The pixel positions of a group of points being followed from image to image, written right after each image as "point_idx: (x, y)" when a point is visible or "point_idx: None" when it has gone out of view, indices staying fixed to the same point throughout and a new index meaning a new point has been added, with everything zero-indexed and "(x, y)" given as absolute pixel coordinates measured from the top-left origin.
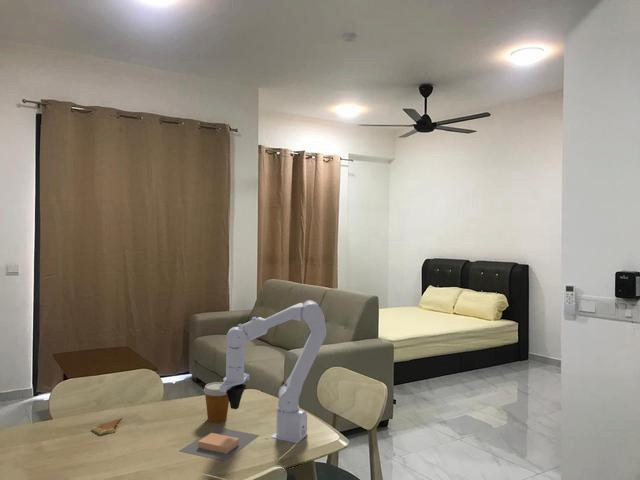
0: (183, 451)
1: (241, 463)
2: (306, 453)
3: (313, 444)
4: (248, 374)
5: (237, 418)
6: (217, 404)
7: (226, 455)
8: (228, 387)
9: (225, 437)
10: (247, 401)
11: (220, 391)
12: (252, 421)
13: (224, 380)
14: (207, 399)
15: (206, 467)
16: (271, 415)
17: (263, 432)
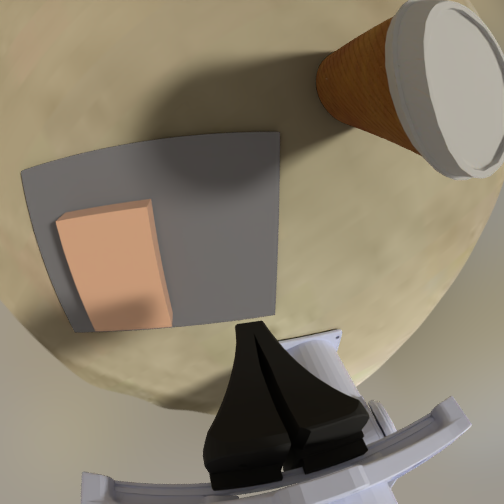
0: (26, 189)
1: (104, 358)
2: None
3: None
4: (441, 450)
5: (391, 156)
6: (366, 110)
7: None
8: (173, 499)
9: (145, 286)
10: None
11: (85, 475)
12: (381, 220)
13: (276, 498)
14: (371, 38)
15: (32, 306)
16: (427, 244)
17: (308, 302)
